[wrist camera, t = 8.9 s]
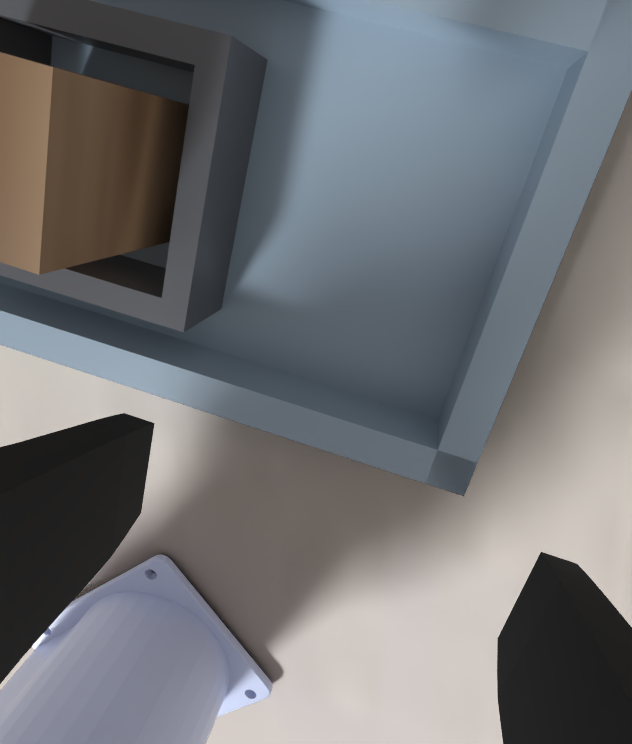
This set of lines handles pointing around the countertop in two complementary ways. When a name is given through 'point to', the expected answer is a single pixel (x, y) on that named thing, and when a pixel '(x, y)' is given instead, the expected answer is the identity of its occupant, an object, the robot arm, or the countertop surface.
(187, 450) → the countertop surface
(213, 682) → the robot arm
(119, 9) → the blue shallow rectangular tray
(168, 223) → the tan wooden block
